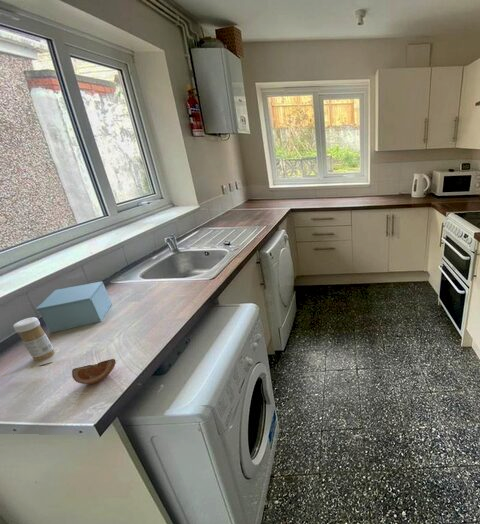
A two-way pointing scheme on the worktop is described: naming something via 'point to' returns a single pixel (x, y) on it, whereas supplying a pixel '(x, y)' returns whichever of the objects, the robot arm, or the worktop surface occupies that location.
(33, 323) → the sprinkles bottle
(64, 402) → the worktop surface
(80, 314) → the chest
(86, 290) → the lid
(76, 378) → the fruit slice
